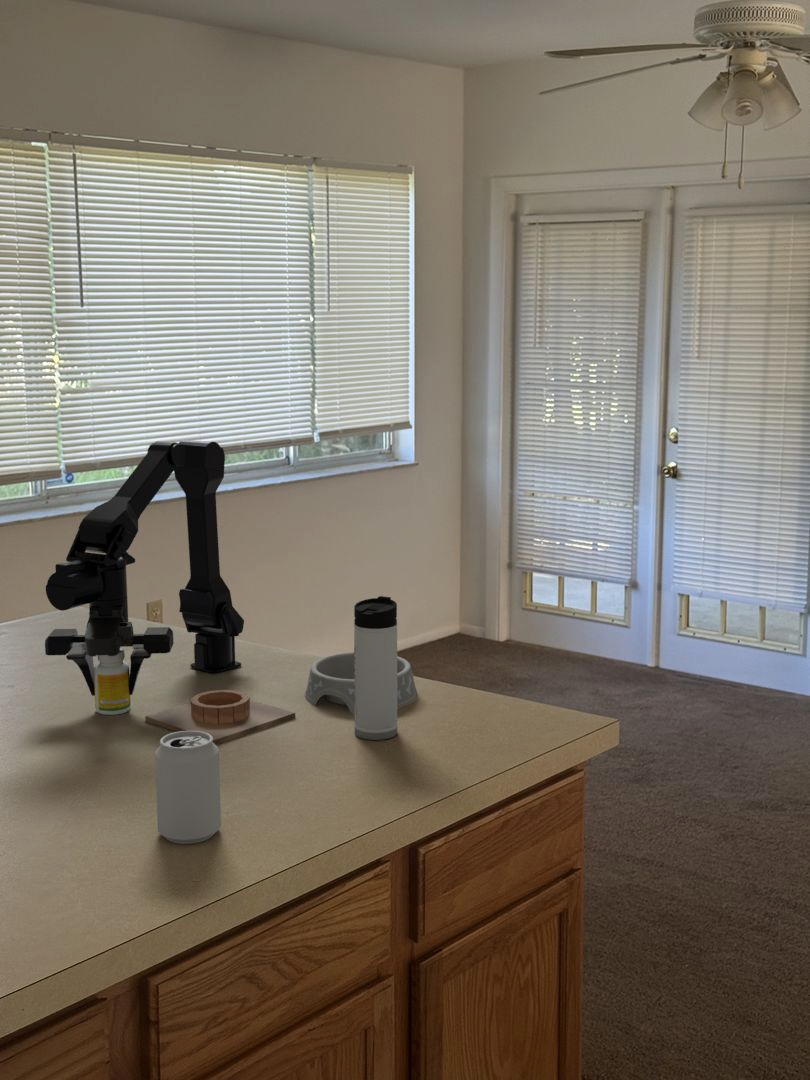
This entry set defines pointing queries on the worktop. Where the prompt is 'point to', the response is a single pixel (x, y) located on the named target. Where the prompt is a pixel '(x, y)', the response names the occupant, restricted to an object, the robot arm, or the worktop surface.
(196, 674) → the worktop surface
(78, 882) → the worktop surface
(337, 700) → the dog bowl
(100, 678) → the supplement bottle
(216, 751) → the can
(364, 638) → the travel mug
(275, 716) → the collar board
